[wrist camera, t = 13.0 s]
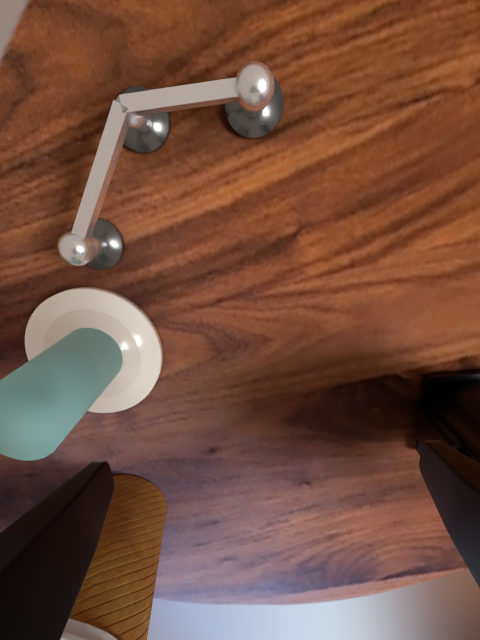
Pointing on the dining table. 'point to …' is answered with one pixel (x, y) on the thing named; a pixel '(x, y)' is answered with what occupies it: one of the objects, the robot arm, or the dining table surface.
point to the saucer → (119, 323)
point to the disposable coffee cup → (122, 567)
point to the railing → (151, 134)
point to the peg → (55, 392)
